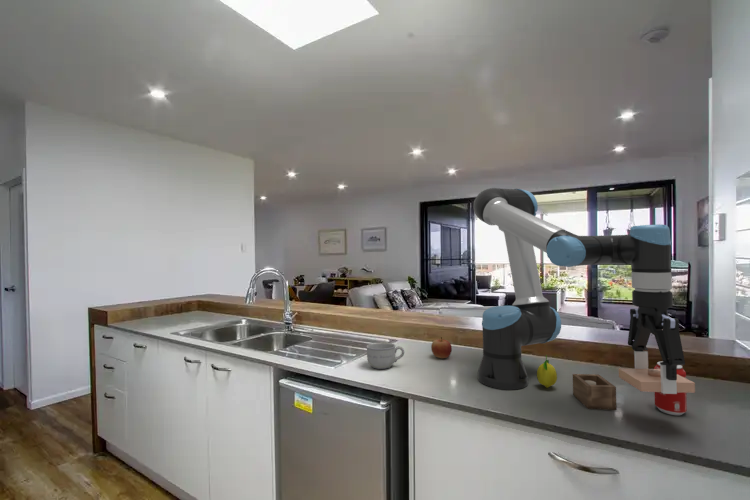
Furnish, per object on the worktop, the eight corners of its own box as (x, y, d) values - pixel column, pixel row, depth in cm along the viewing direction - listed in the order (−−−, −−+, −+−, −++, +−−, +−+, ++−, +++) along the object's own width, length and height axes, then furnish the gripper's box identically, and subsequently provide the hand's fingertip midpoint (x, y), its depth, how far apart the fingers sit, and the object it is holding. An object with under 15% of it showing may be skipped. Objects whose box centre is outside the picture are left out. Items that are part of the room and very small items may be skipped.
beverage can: (648, 406, 93) (647, 361, 93) (670, 404, 93) (669, 359, 93) (670, 417, 87) (669, 369, 87) (693, 416, 87) (692, 368, 87)
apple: (436, 353, 144) (436, 333, 143) (455, 356, 139) (454, 336, 139) (427, 358, 137) (427, 338, 137) (446, 362, 132) (446, 341, 132)
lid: (695, 397, 78) (694, 378, 78) (641, 395, 79) (640, 377, 79) (666, 382, 87) (666, 365, 87) (619, 381, 88) (618, 364, 88)
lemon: (547, 393, 102) (546, 359, 102) (531, 386, 108) (530, 354, 108) (563, 389, 105) (563, 356, 105) (547, 382, 110) (546, 351, 110)
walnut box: (587, 408, 92) (587, 386, 92) (573, 394, 101) (572, 373, 101) (616, 409, 91) (616, 386, 91) (599, 395, 100) (598, 374, 100)
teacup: (362, 369, 126) (361, 347, 126) (373, 360, 136) (373, 340, 136) (398, 374, 121) (398, 351, 121) (407, 364, 131) (407, 342, 131)
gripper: (706, 295, 72) (709, 405, 72) (640, 285, 93) (642, 369, 93) (666, 296, 73) (669, 404, 73) (610, 285, 94) (612, 369, 94)
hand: (654, 384), depth 83 cm, fingers closed on lid, 9 cm apart
